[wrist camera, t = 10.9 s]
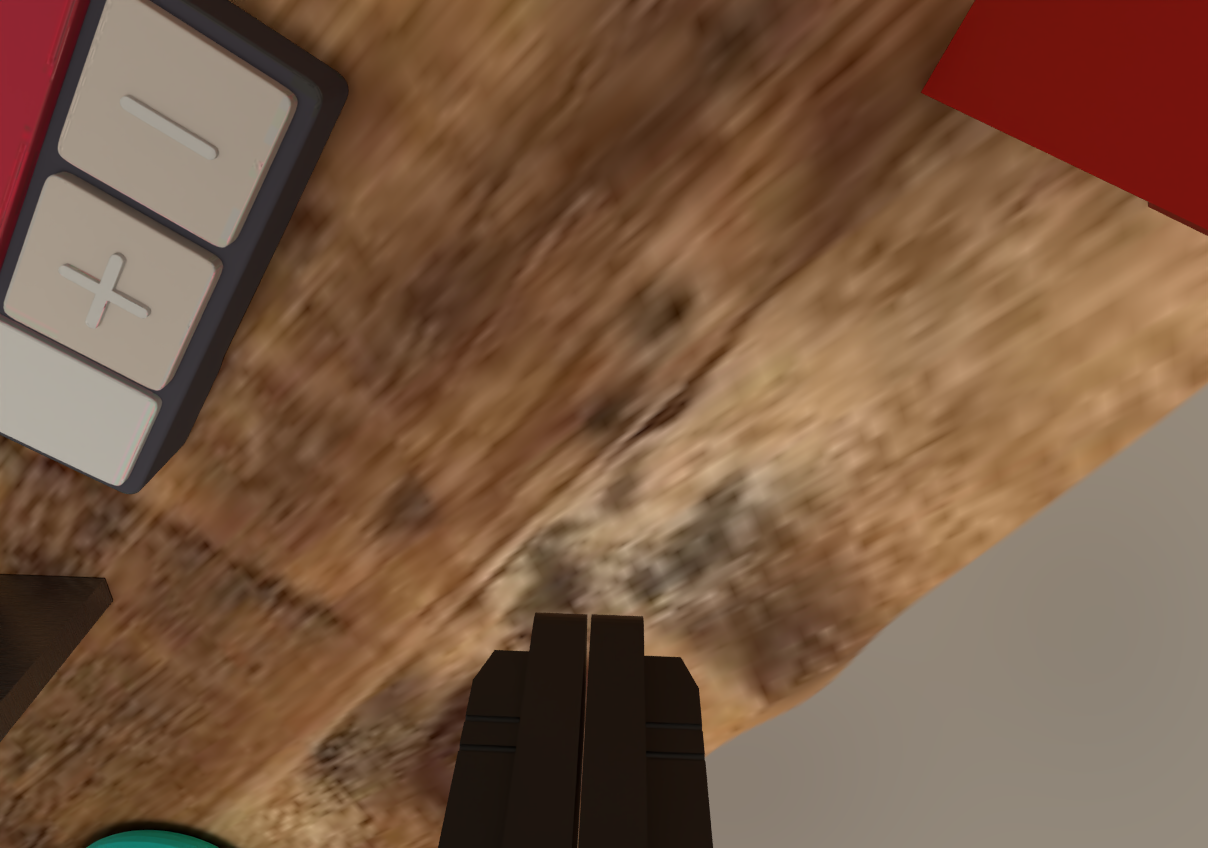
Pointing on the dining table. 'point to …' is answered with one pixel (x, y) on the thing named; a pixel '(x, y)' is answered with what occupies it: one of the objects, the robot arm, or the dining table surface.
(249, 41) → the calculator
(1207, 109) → the book
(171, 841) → the donuts
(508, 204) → the dining table surface
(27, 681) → the bookend
